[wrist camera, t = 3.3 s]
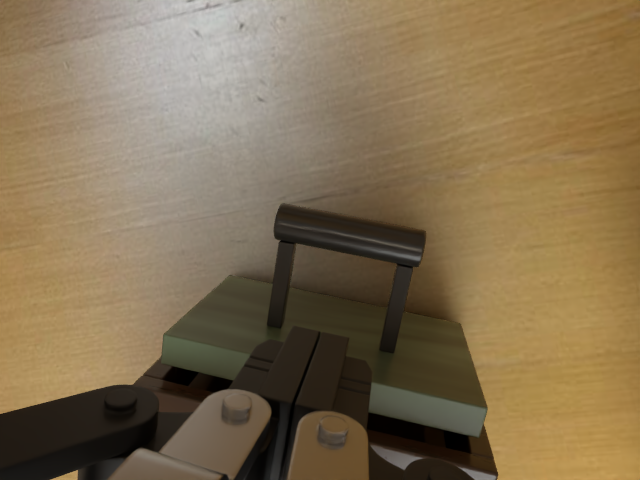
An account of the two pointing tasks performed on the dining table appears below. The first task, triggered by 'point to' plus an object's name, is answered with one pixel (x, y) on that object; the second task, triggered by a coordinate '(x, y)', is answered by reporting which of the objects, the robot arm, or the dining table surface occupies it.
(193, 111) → the dining table surface
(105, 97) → the dining table surface
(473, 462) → the cabinet
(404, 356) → the drawer
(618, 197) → the dining table surface
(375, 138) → the dining table surface
